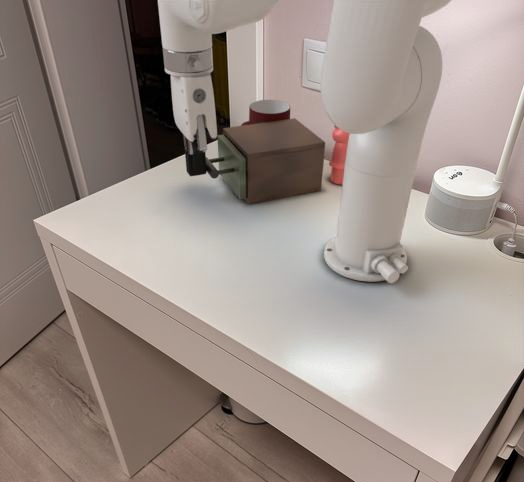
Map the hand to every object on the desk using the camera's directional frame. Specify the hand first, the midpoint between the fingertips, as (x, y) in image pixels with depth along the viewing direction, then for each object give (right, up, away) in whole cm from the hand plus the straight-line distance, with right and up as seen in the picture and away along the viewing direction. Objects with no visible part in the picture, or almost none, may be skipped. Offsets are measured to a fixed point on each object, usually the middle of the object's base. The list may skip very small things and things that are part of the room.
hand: (196, 173), depth 95 cm
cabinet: (+13, +1, +7) cm, 15 cm away
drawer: (+10, 0, +5) cm, 11 cm away
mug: (+12, +8, +16) cm, 22 cm away
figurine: (+27, +1, +9) cm, 28 cm away
